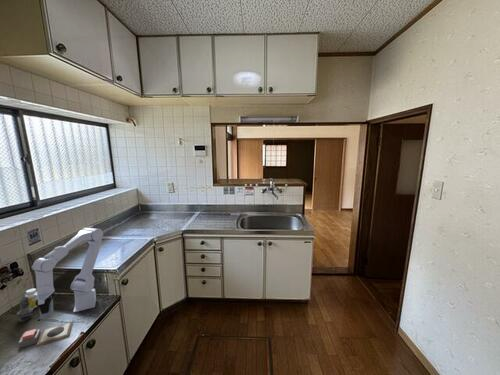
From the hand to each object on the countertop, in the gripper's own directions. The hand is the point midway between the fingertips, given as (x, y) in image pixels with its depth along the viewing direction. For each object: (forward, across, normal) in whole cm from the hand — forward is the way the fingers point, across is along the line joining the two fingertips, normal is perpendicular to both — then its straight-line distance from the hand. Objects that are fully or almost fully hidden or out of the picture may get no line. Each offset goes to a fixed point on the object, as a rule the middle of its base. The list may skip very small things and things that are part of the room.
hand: (46, 310), depth 103 cm
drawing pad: (+10, +5, +4) cm, 12 cm away
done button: (+8, +5, -5) cm, 11 cm away
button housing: (+10, +5, -5) cm, 12 cm away
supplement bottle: (+10, -26, -12) cm, 30 cm away
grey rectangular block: (+3, 0, 0) cm, 3 cm away
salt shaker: (+10, -16, -12) cm, 22 cm away
